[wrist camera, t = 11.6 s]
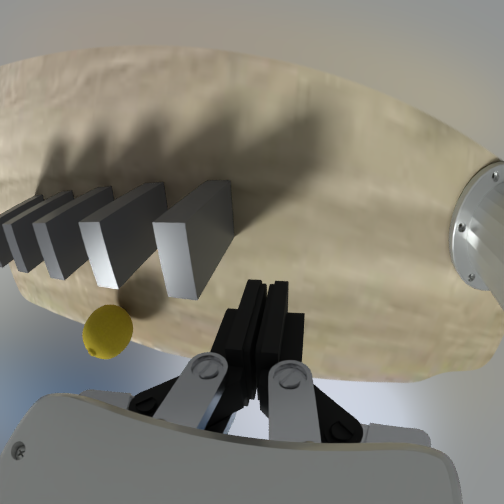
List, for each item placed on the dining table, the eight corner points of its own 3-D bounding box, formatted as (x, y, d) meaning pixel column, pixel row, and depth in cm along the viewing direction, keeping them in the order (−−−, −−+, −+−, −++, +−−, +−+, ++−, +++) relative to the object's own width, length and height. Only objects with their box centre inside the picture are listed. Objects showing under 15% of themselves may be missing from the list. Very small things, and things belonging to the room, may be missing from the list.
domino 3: (111, 186, 25) (45, 222, 17) (121, 233, 27) (64, 280, 19) (97, 187, 25) (32, 223, 17) (107, 232, 28) (50, 277, 20)
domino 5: (212, 236, 25) (168, 296, 17) (206, 180, 23) (152, 222, 15) (234, 237, 25) (197, 300, 17) (230, 180, 22) (184, 223, 15)
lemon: (110, 284, 31) (70, 326, 24) (148, 309, 31) (113, 357, 25) (104, 311, 34) (71, 351, 27) (138, 334, 34) (108, 378, 27)
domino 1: (42, 194, 27) (-13, 225, 19) (52, 231, 29) (2, 267, 22) (34, 195, 28) (-19, 225, 20) (44, 231, 30) (-5, 266, 22)
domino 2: (72, 190, 26) (10, 224, 18) (82, 232, 28) (27, 273, 21) (61, 191, 26) (2, 224, 19) (71, 232, 29) (18, 271, 21)
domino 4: (163, 182, 24) (99, 221, 16) (171, 234, 26) (118, 289, 18) (144, 183, 24) (78, 222, 16) (153, 233, 26) (98, 286, 19)
